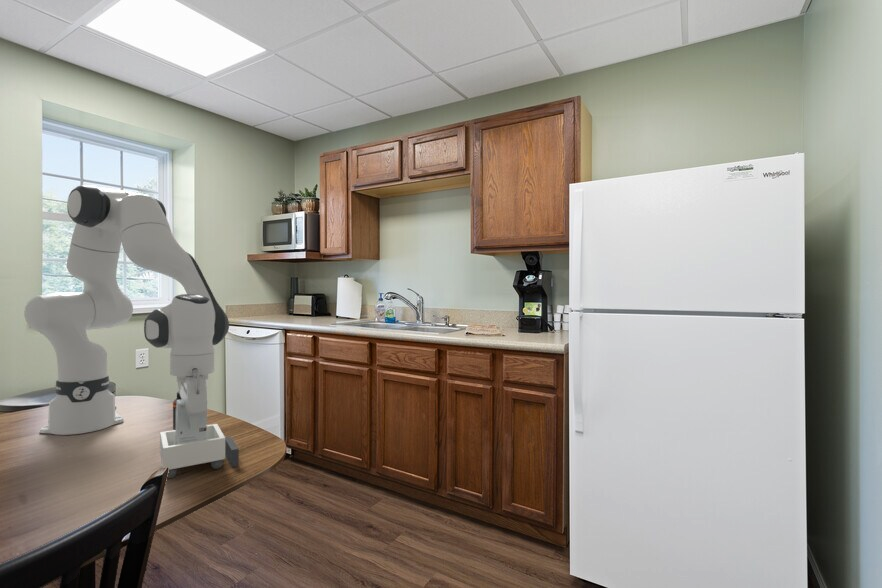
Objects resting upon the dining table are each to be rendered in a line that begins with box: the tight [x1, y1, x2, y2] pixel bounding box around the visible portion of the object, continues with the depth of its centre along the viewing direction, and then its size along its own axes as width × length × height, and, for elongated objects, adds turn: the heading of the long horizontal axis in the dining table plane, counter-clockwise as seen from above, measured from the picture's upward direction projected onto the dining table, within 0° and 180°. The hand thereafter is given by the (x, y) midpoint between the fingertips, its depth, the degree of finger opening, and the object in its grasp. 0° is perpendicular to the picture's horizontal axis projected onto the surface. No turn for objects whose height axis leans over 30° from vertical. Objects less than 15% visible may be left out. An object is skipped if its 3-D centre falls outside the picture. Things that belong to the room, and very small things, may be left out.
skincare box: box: [175, 399, 208, 445], centre depth 103 cm, size 6×4×12 cm
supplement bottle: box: [172, 390, 181, 430], centre depth 128 cm, size 6×6×11 cm
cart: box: [159, 423, 226, 479], centre depth 103 cm, size 12×12×7 cm
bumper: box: [224, 436, 240, 468], centre depth 108 cm, size 10×2×4 cm, turn 35°
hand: (192, 425), depth 103 cm, fingers open, 5 cm apart
